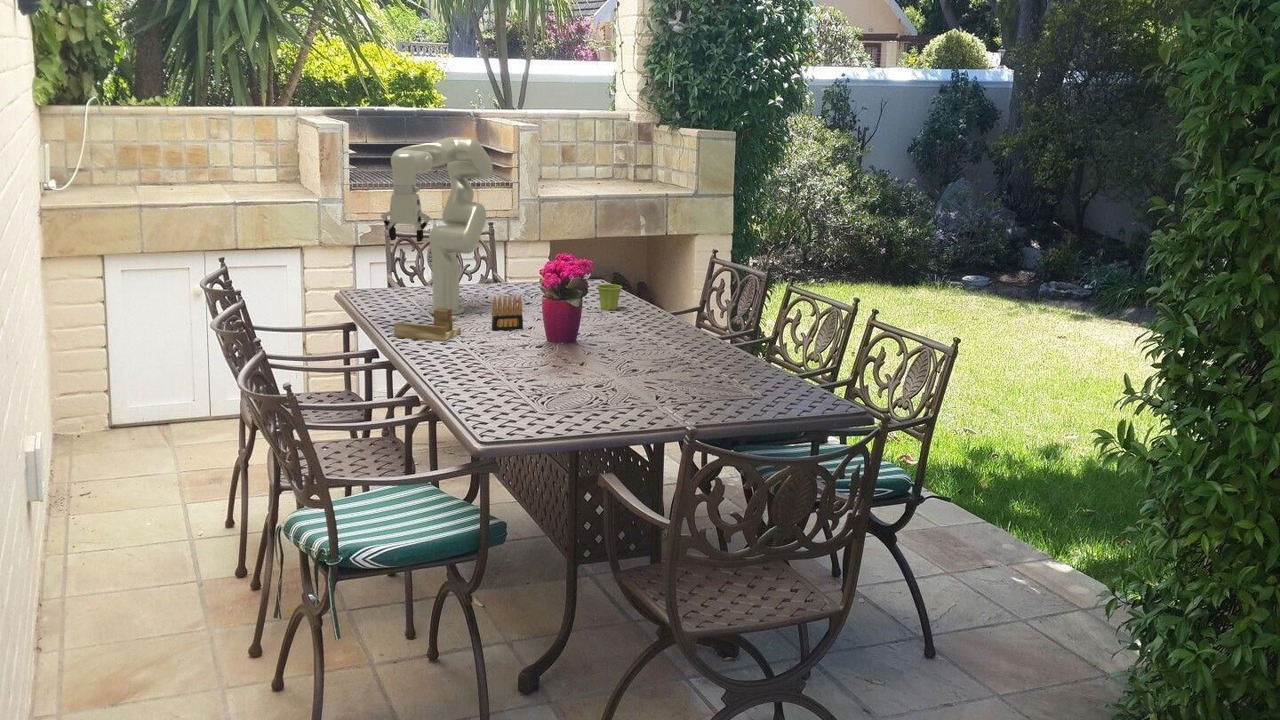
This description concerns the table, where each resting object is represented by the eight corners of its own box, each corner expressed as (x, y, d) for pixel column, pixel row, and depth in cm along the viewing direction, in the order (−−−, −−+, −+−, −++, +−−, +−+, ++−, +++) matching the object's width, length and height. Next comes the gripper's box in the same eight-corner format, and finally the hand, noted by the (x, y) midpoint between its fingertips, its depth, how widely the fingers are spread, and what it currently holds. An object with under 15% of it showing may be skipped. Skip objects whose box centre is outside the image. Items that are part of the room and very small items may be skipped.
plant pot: (626, 308, 479) (626, 286, 477) (612, 312, 471) (612, 289, 469) (605, 305, 484) (606, 283, 482) (591, 309, 476) (592, 286, 474)
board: (411, 329, 434) (411, 316, 433) (460, 333, 429) (460, 320, 428) (394, 336, 422) (394, 323, 421) (444, 341, 417) (444, 327, 416)
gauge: (448, 323, 433) (448, 303, 432) (461, 324, 432) (460, 304, 430) (434, 331, 423) (433, 310, 421) (446, 332, 421) (446, 311, 420)
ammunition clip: (521, 328, 440) (521, 294, 437) (523, 329, 438) (523, 295, 435) (491, 329, 436) (491, 295, 434) (492, 331, 435) (492, 296, 432)
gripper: (433, 189, 430) (434, 240, 435) (385, 187, 434) (387, 237, 439) (424, 192, 423) (425, 243, 428) (376, 190, 427) (378, 241, 431)
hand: (406, 240), depth 433 cm, fingers open, 9 cm apart
